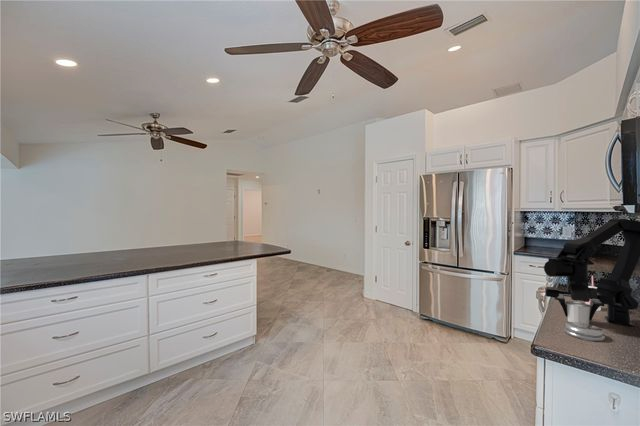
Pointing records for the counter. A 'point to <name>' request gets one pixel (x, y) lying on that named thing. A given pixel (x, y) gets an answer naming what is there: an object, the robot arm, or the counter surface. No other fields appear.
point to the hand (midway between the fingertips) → (578, 318)
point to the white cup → (578, 312)
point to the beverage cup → (591, 299)
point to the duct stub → (584, 331)
